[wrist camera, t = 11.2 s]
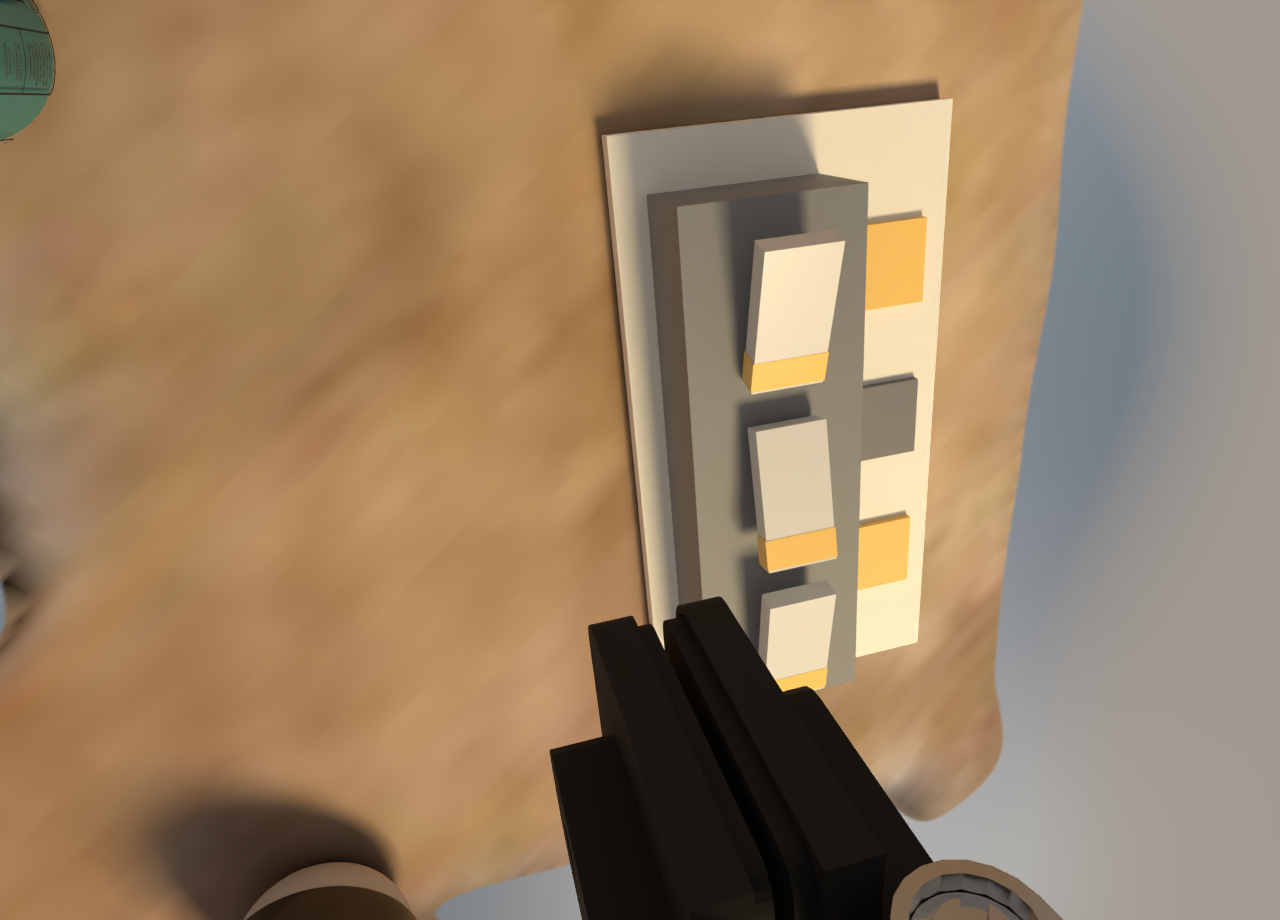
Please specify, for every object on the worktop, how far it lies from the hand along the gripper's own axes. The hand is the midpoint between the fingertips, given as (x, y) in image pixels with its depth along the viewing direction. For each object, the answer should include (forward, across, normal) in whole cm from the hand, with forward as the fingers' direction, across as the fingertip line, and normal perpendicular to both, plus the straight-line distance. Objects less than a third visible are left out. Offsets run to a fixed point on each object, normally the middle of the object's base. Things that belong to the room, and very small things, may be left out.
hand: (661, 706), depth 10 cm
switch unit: (+29, -14, +10) cm, 34 cm away
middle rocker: (+22, -12, +10) cm, 27 cm away
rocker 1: (+22, -12, +2) cm, 25 cm away
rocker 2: (+22, -12, +18) cm, 31 cm away
